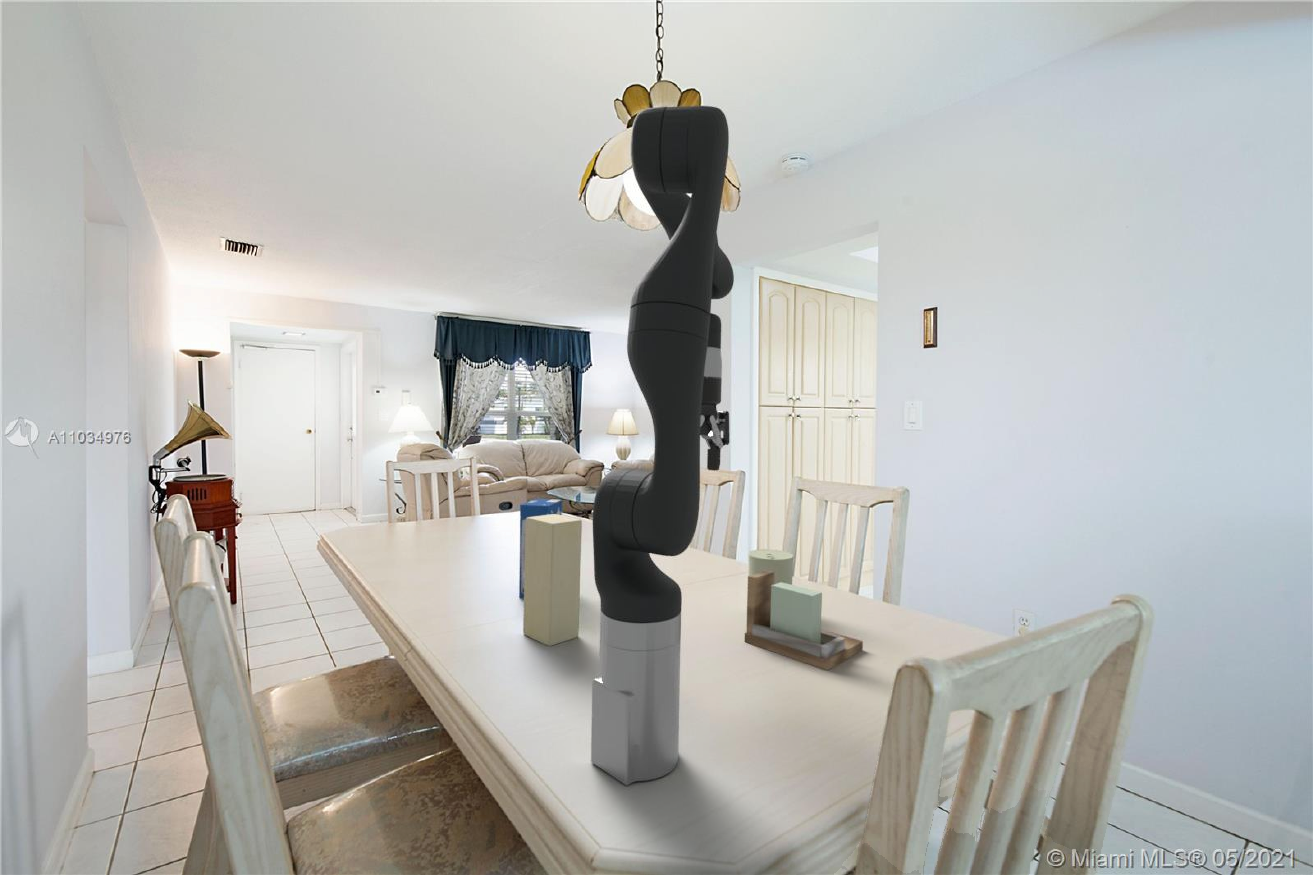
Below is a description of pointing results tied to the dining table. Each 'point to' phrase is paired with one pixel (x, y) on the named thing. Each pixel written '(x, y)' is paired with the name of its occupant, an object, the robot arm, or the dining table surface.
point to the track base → (789, 645)
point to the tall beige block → (552, 578)
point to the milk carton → (526, 510)
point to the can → (772, 564)
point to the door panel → (796, 611)
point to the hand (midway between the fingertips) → (697, 471)
